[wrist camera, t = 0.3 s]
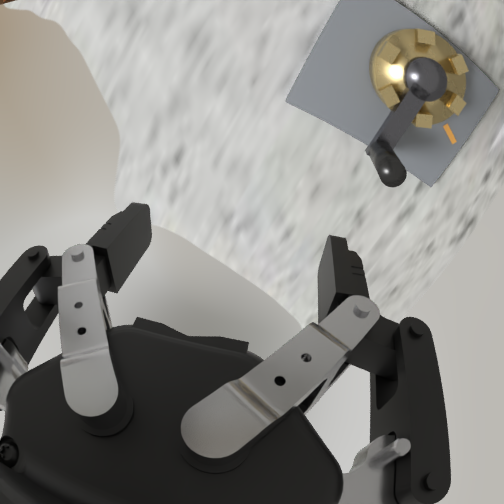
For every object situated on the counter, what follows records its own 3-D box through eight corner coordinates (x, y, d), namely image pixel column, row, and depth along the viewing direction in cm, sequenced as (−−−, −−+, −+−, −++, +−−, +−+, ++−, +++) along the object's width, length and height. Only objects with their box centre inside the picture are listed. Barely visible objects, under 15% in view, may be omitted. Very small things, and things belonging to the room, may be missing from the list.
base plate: (351, -21, 19) (354, -23, 18) (492, 86, 22) (499, 90, 21) (286, 98, 29) (285, 102, 28) (427, 181, 33) (431, 187, 31)
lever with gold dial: (396, 10, 19) (429, 6, 13) (469, 68, 21) (513, 87, 14) (327, 125, 29) (336, 157, 23) (401, 169, 31) (425, 210, 24)
